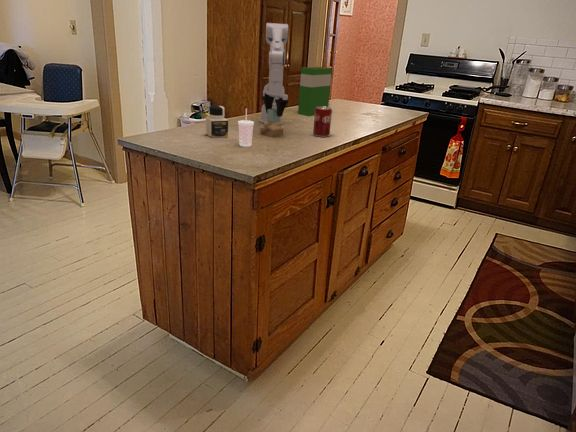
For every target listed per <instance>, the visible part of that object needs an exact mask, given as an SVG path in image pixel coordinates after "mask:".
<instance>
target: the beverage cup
mask: <svg viewBox="0 0 576 432" xmlns="http://www.w3.org/2000/svg"><path fill="white" fill-rule="evenodd" d="M237 124H238V140H239V146H240V147H245V148H247V147H251V146H252V144H253V131H254V125H255V121H252V120H248V108H245V119H242V120H238V121H237Z"/></svg>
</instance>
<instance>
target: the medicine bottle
mask: <svg viewBox="0 0 576 432" xmlns="http://www.w3.org/2000/svg"><path fill="white" fill-rule="evenodd" d="M208 108H209V113H208V114H209V116H206V117H205V134H206V135H208V136H209V137H210V138H212V139H214V138H215V139H216V138H228V137H229V119H227V118H226V117H225V116H226V115H225V112H226V111H225V110H226V109H225V107H224V106H222V105H217V104H215V105H211V106H209V107H208Z"/></svg>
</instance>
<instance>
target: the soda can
mask: <svg viewBox="0 0 576 432" xmlns="http://www.w3.org/2000/svg"><path fill="white" fill-rule="evenodd" d="M332 113H333V110H332V108H331V107H329V106H328V107H316V108H315V115H314V118H313V119H314V120H313V129H312V134H313V136H315V137H318V138H327V137H329V136H330V133H331V122H332Z"/></svg>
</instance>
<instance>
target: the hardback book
mask: <svg viewBox="0 0 576 432" xmlns="http://www.w3.org/2000/svg"><path fill="white" fill-rule="evenodd" d="M332 71H333V67H331V68H329V67H327V68H326V67H325V68H323V66H314V67H313V66H312V67H311V66H310V67H301V68H300V79H299V80H300V81H299V82H300V83H299V94H298V97H299V98H298V108H297V109H298V110H297V115H301V116H305V117H313V116H314V117H315V108H316V107H329V103H330V95H331V94H330V93H331V92H330V91H331V83H332Z"/></svg>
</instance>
